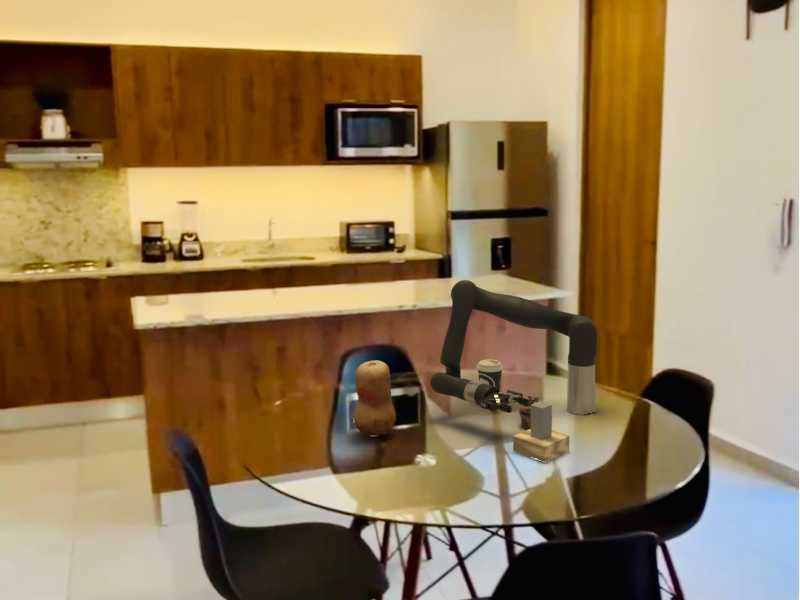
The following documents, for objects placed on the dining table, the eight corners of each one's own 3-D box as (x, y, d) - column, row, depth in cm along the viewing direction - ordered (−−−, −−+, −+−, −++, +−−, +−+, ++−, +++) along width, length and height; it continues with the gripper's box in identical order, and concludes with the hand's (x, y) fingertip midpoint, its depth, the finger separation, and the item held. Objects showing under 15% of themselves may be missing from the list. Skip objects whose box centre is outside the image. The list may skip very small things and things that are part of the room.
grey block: (539, 432, 238) (540, 401, 235) (551, 436, 234) (552, 404, 232) (530, 436, 235) (530, 404, 233) (542, 440, 231) (542, 408, 229)
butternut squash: (346, 439, 249) (343, 365, 244) (367, 425, 261) (364, 354, 256) (384, 446, 243) (381, 370, 238) (404, 431, 254) (401, 359, 249)
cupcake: (548, 432, 251) (548, 403, 248) (518, 430, 252) (518, 401, 250) (548, 421, 260) (549, 393, 258) (519, 420, 262) (519, 392, 260)
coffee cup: (504, 406, 275) (504, 366, 272) (477, 407, 276) (477, 366, 273) (501, 397, 285) (501, 358, 282) (475, 398, 285) (475, 359, 282)
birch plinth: (537, 440, 244) (537, 425, 243) (569, 451, 235) (569, 435, 234) (513, 451, 236) (513, 436, 235) (544, 462, 227) (544, 446, 226)
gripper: (465, 388, 245) (505, 400, 234) (495, 378, 255) (534, 389, 243) (466, 410, 247) (504, 423, 235) (495, 400, 256) (534, 411, 244)
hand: (520, 406), depth 239 cm, fingers open, 8 cm apart
